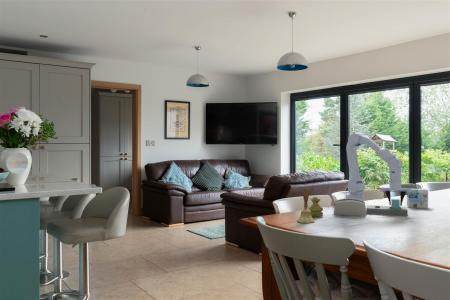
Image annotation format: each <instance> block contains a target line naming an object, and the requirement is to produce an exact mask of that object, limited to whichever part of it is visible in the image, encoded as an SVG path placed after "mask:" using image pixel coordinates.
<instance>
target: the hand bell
mask: <svg viewBox="0 0 450 300" xmlns="http://www.w3.org/2000/svg"><path fill="white" fill-rule="evenodd" d="M302 197H303V209H301V211H300V215H299V218H298V219H297V221H296V222H297V223H301V224H313V223H315V220H314V219H313V217H311V211H310V210H308V208H309V205H308V201H309V198H310V195H309V190H308V188H304V190H303V195H302Z"/></svg>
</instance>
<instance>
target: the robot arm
mask: <svg viewBox="0 0 450 300" xmlns="http://www.w3.org/2000/svg"><path fill="white" fill-rule="evenodd" d="M347 140H348V141H347V144H346V148H345V149H346V157H347V164H348V170H349V179H348V181H347V183H348V185H347V190H348V192H349V193H346V195H345V198H354V199H359V200H362V201H364V191H365V190H366V185H365V183H364V181H363V179H362V177H361V175H360V169H359V168H360V167H359V166H360V165H359V161H358V153H357V152H358V151H357V150H358V148H359V147H360V146H363V145H366V147H369V148H370V149H372V150H373V151H374V152H375V153H377V156H378V157H379V158H380V159H381V160H382V161H383V162H384V163H386V164H387V167H388V168H389V187H380V192H385V194H386V197H387V200H388V203H389V205H388V206H391V199H392V198H391V192H392V193H400V195H399V196H400V207H403V201H404V198H405V196H406V195H407V192H411V189H412V188H408V187H406V188H405V187H402V166H403V165H404V164H403V163H404V162H403V160H402V158H401V157H398V156H396V154H393V153H392V152H391V151H390V149H389V148H385V147H384V148H382V147H381V146H379V144H377V143H376V141H374V140H373V139H372V138H370V137H369V135H366V133H364V132H352V133H351V134H350V135H349V136H348V137H347Z"/></svg>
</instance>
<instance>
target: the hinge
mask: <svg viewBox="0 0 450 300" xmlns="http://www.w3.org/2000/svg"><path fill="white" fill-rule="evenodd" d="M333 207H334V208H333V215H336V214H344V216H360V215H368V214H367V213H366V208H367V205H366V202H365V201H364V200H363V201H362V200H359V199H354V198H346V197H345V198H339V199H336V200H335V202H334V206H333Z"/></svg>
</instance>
